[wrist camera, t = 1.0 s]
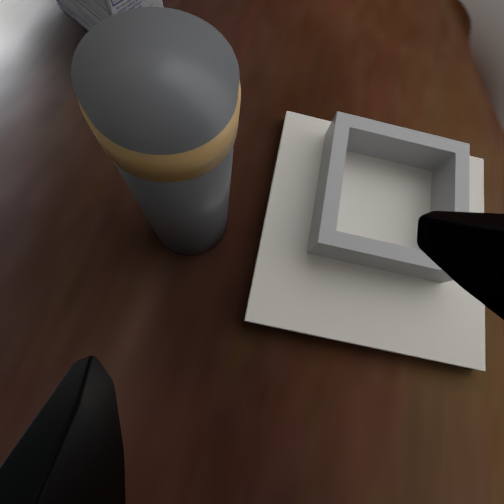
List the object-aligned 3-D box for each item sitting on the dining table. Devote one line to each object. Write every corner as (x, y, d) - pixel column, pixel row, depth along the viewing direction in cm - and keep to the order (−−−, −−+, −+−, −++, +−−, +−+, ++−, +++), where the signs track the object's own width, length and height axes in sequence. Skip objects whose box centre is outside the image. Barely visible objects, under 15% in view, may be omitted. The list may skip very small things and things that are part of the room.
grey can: (219, 264, 22) (222, 162, 9) (143, 247, 21) (39, 119, 9) (235, 195, 23) (257, 27, 10) (164, 179, 23) (100, -13, 10)
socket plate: (473, 369, 22) (520, 375, 18) (243, 321, 21) (248, 318, 17) (473, 165, 26) (511, 140, 23) (284, 119, 25) (294, 85, 22)
